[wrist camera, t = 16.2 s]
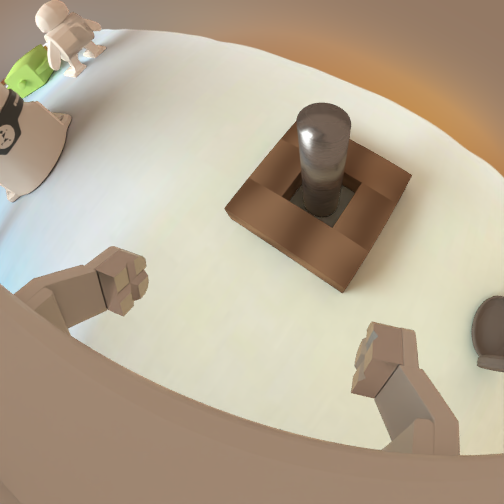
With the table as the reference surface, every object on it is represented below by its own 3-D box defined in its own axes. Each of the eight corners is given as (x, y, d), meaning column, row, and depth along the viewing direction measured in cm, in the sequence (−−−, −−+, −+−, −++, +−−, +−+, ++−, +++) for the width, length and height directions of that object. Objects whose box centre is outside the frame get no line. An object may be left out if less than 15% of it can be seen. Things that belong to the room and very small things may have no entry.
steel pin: (296, 205, 29) (285, 127, 18) (315, 179, 29) (314, 96, 18) (326, 223, 28) (334, 151, 16) (344, 196, 28) (360, 116, 17)
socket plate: (230, 218, 30) (224, 208, 27) (301, 129, 31) (300, 115, 29) (342, 293, 26) (345, 289, 23) (405, 186, 27) (412, 175, 25)
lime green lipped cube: (11, 110, 52) (-9, 92, 43) (25, 85, 55) (7, 68, 46) (51, 84, 49) (30, 61, 40) (65, 59, 52) (47, 38, 43)
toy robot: (100, 41, 50) (62, -13, 31) (118, 42, 47) (77, -20, 28) (59, 81, 48) (12, 30, 29) (72, 86, 45) (20, 27, 27)
